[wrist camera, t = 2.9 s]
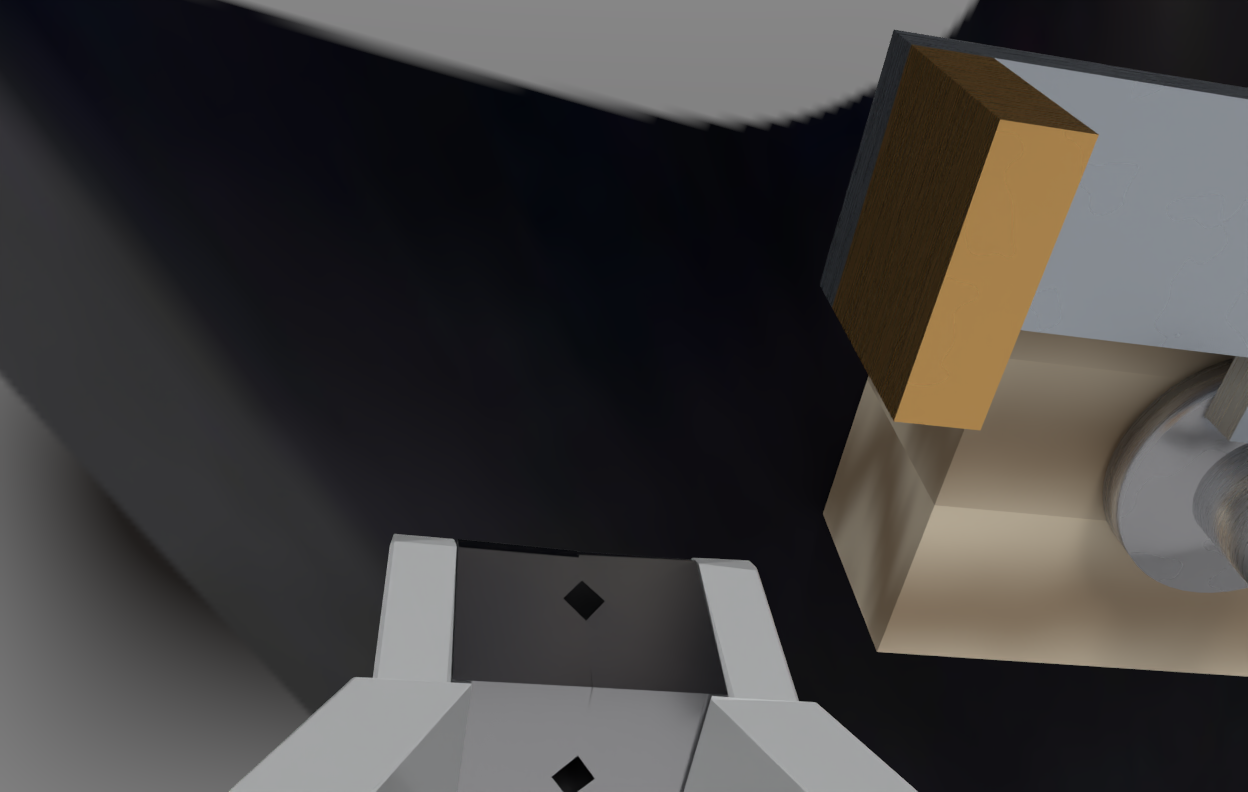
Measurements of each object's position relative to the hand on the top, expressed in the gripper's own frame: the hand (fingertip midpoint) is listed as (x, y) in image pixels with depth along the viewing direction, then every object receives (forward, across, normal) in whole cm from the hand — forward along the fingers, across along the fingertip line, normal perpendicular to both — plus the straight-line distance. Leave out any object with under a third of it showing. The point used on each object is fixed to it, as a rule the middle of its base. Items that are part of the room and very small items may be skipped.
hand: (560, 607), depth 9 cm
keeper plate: (+13, -15, +1) cm, 20 cm away
